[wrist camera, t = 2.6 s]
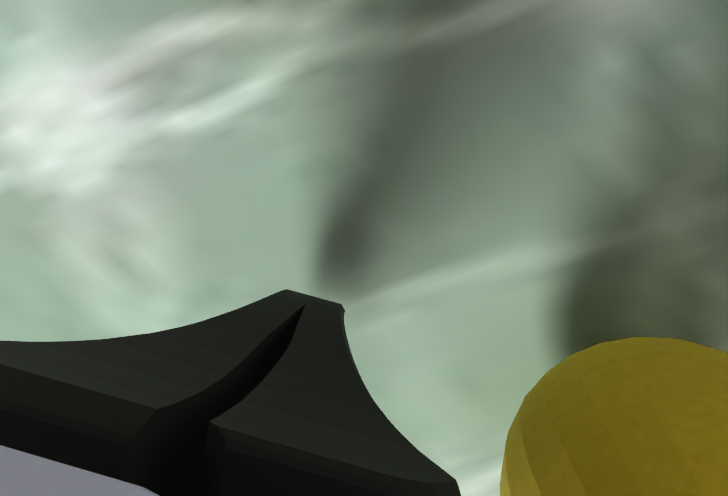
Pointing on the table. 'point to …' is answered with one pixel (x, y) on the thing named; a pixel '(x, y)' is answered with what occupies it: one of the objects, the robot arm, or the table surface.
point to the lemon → (624, 423)
